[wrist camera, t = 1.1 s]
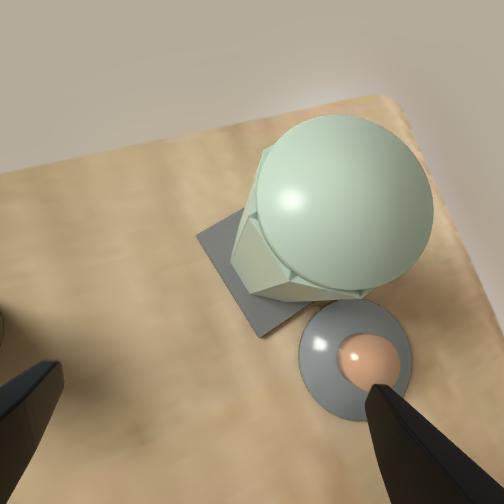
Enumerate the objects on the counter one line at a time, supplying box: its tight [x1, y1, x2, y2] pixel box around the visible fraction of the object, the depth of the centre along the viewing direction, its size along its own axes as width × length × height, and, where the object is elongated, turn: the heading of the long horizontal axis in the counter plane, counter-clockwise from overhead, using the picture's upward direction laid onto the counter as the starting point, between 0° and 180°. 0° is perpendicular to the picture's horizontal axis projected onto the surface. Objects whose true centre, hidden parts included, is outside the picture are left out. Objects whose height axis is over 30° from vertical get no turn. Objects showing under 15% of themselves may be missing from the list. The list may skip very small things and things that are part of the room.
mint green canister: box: [230, 115, 434, 302], centre depth 18 cm, size 7×7×13 cm
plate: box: [299, 299, 412, 421], centre depth 23 cm, size 9×9×1 cm
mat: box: [196, 208, 313, 338], centre depth 24 cm, size 9×9×1 cm
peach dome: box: [337, 333, 400, 392], centre depth 22 cm, size 4×4×2 cm
